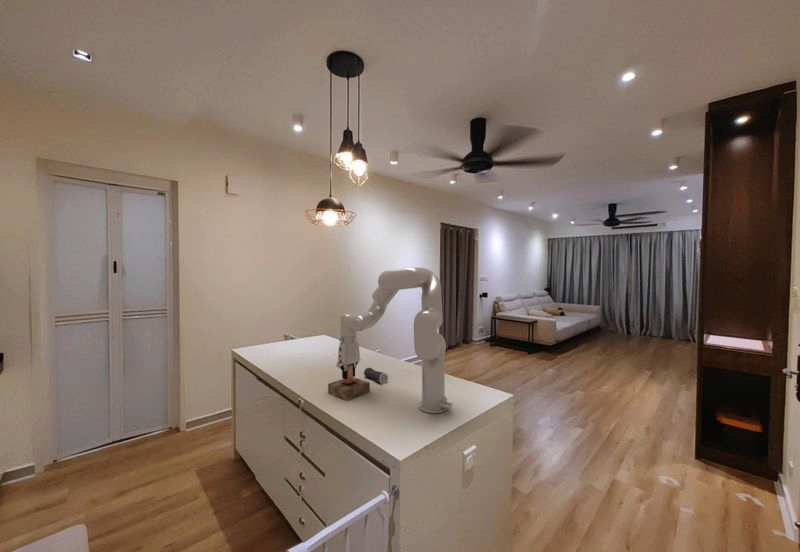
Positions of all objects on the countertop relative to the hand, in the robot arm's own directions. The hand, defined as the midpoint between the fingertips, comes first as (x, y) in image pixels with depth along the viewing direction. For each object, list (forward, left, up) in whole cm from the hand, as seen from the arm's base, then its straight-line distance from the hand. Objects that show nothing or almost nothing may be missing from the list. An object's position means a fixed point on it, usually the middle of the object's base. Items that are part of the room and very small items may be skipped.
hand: (348, 377), depth 149 cm
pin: (0, 0, -2) cm, 2 cm away
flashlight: (+3, -21, -8) cm, 22 cm away
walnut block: (0, 0, -7) cm, 7 cm away
